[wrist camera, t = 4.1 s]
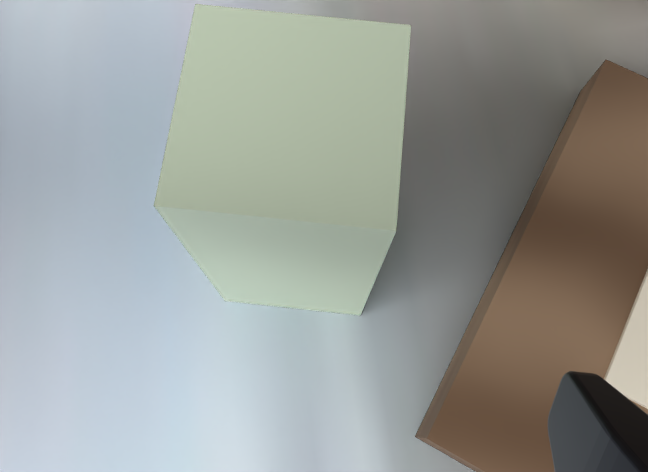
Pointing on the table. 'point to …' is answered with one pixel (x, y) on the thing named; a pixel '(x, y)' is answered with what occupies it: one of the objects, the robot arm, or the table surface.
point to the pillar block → (287, 155)
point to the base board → (558, 290)
